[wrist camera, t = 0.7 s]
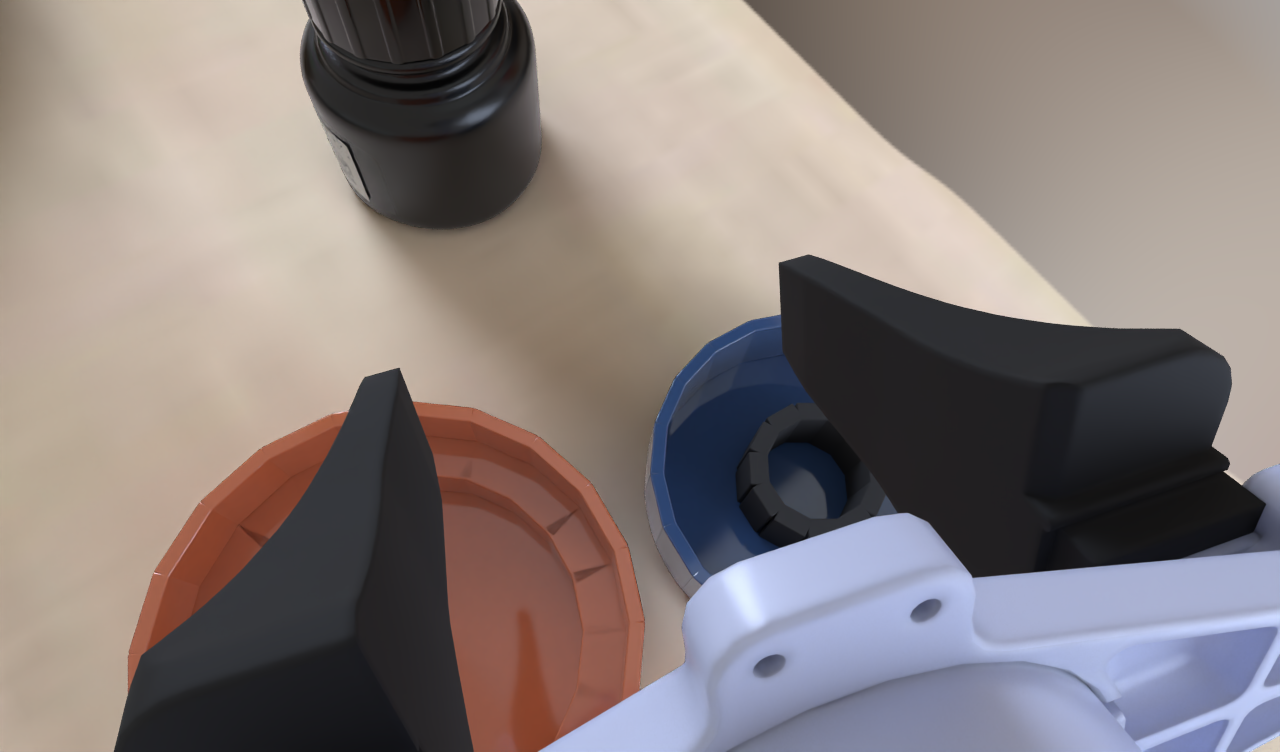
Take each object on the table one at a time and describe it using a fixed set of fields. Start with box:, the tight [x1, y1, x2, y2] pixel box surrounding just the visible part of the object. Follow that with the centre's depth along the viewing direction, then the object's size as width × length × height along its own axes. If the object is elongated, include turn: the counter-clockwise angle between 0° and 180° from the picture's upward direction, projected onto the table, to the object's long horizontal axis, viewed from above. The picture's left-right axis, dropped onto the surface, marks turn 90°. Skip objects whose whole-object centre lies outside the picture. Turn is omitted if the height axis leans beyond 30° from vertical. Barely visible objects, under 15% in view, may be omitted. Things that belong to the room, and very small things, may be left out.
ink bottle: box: [300, 0, 542, 229], centre depth 32 cm, size 10×9×12 cm
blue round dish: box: [644, 315, 898, 599], centre depth 31 cm, size 12×12×4 cm
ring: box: [736, 403, 886, 548], centre depth 31 cm, size 5×5×3 cm
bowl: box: [128, 402, 645, 752], centre depth 27 cm, size 15×15×5 cm
